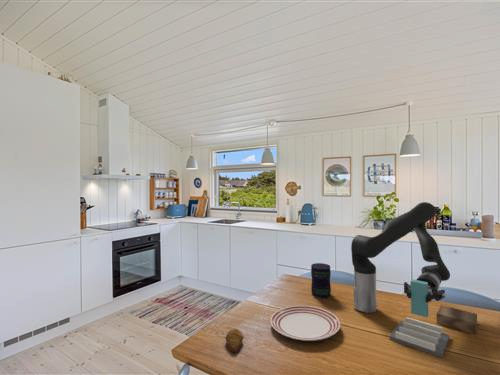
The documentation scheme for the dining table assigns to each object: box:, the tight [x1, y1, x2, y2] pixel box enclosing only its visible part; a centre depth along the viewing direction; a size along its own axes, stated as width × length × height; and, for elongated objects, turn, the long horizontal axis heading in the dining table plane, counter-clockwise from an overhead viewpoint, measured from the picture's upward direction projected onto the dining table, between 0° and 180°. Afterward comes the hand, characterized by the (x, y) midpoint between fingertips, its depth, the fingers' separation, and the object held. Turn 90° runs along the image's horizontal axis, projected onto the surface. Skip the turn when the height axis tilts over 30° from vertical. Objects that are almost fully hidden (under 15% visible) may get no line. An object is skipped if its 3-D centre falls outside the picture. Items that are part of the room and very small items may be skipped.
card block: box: [410, 279, 429, 318], centre depth 99 cm, size 5×2×12 cm, turn 47°
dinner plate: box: [270, 305, 341, 342], centre depth 109 cm, size 28×27×3 cm
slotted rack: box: [389, 316, 451, 358], centre depth 99 cm, size 16×15×3 cm
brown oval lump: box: [225, 328, 245, 354], centre depth 99 cm, size 14×7×5 cm, turn 2°
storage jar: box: [310, 262, 332, 299], centre depth 140 cm, size 10×10×15 cm
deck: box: [436, 304, 478, 335], centre depth 109 cm, size 12×10×4 cm
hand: (417, 297), depth 97 cm, fingers closed on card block, 5 cm apart
